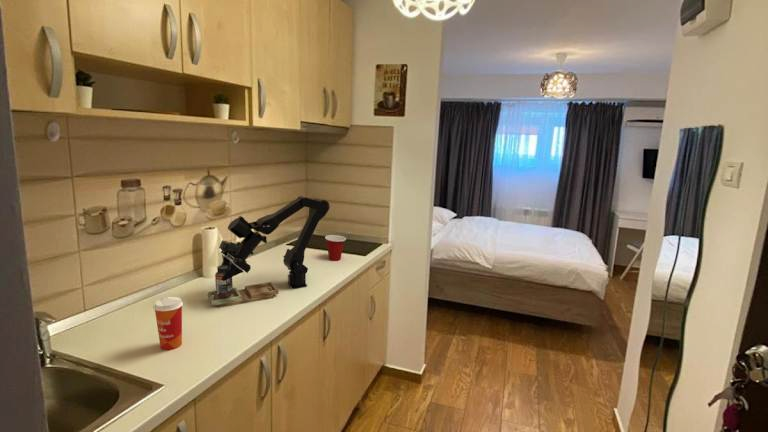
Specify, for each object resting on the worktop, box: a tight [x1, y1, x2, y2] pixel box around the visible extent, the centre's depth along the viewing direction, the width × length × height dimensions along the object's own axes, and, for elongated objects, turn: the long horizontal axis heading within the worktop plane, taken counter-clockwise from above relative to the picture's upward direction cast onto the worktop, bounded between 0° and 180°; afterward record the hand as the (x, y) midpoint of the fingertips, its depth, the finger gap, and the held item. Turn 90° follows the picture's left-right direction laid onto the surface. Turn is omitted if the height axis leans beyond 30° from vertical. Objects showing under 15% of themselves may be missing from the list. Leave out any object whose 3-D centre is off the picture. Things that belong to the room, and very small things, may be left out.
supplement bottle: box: [214, 265, 234, 297], centre depth 153 cm, size 6×6×11 cm
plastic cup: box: [324, 234, 347, 262], centre depth 209 cm, size 11×11×12 cm
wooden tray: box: [206, 281, 279, 308], centre depth 157 cm, size 25×12×2 cm, turn 121°
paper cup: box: [153, 296, 184, 351], centre depth 119 cm, size 8×8×14 cm
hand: (220, 277), depth 152 cm, fingers open, 6 cm apart
